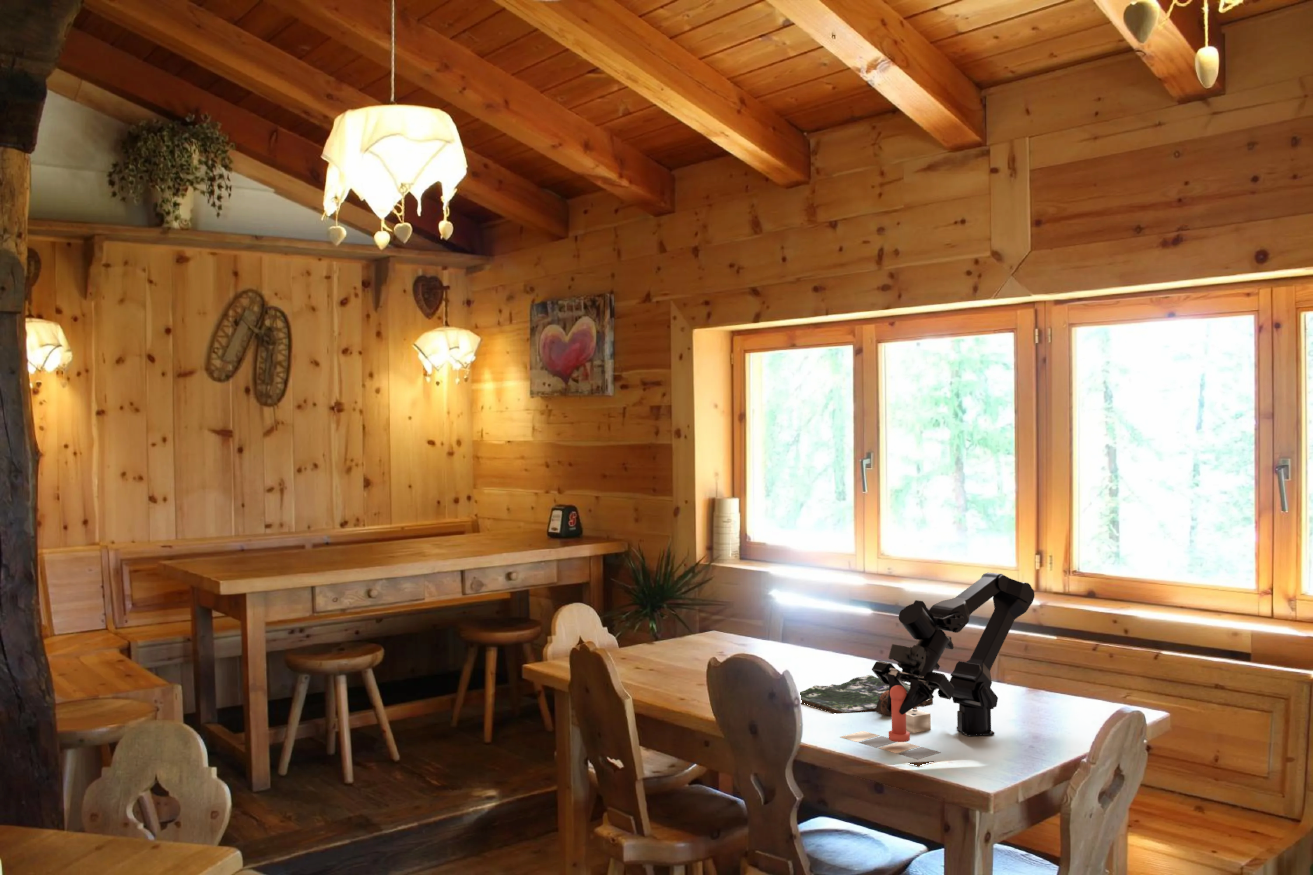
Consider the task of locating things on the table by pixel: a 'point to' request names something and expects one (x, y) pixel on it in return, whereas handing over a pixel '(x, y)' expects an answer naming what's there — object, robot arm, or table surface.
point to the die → (917, 721)
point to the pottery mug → (884, 704)
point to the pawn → (898, 715)
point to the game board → (892, 746)
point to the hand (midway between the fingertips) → (894, 711)
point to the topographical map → (850, 695)
